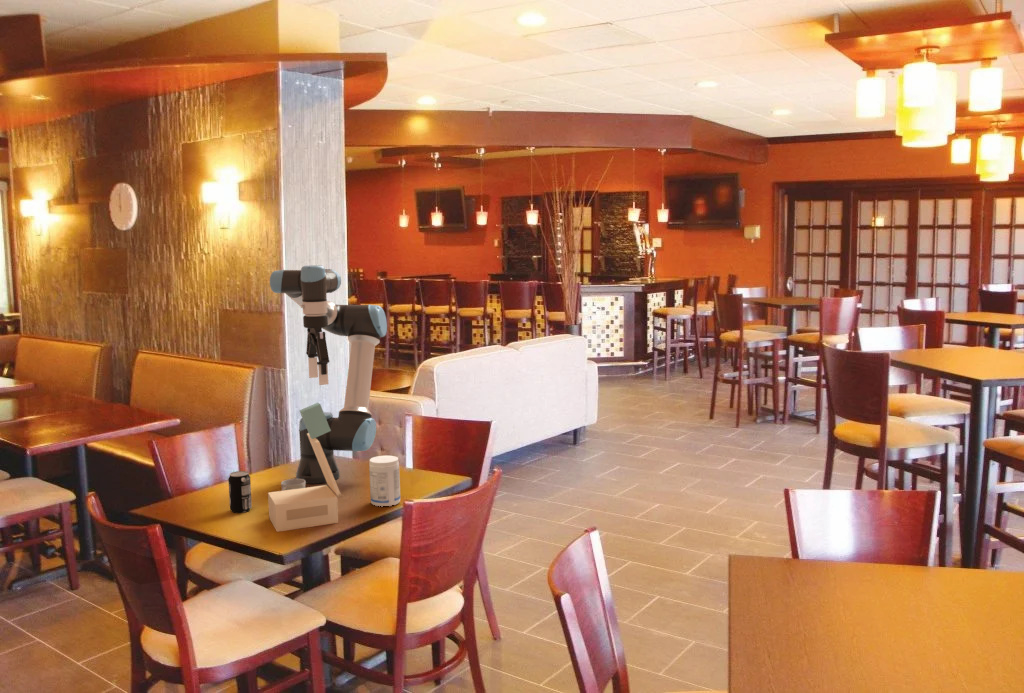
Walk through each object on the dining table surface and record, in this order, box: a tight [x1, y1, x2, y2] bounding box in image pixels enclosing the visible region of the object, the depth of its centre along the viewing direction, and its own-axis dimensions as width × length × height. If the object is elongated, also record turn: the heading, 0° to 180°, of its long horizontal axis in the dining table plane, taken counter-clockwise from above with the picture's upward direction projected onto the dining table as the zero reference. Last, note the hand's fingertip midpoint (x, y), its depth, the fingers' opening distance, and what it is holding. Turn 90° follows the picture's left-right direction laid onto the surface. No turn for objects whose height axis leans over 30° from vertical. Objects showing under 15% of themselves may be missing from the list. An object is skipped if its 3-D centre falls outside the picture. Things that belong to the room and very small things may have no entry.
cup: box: [280, 478, 307, 491], centre depth 267 cm, size 8×10×8 cm
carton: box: [267, 484, 339, 532], centre depth 256 cm, size 14×18×8 cm
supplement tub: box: [368, 454, 401, 508], centre depth 271 cm, size 10×10×15 cm
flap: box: [299, 402, 342, 498], centre depth 257 cm, size 14×27×6 cm
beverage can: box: [227, 470, 253, 514], centre depth 266 cm, size 7×7×12 cm
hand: (318, 381), depth 268 cm, fingers open, 13 cm apart
